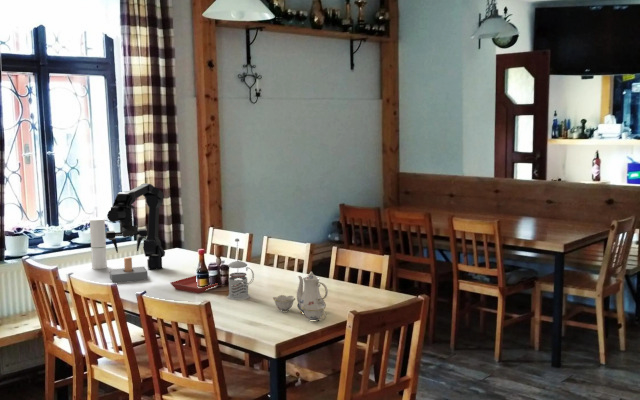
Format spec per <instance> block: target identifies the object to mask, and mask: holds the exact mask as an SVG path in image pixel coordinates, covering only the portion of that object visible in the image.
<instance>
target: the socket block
mask: <svg viewBox="0 0 640 400" xmlns="http://www.w3.org/2000/svg"><path fill="white" fill-rule="evenodd" d="M148 273H149V272H148V270H147V268H146V267H145V266H136V267H133V266H132V271H130V272H125V267H123V268H110V269H109V278H110V281H111V283H112V282H117V283H116V284H119V283H118V282H121V283H128V282H127V281H132V282H140V281H142V282H143V281H148V280H149V276H148Z"/></svg>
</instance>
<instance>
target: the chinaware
mask: <svg viewBox="0 0 640 400" xmlns="http://www.w3.org/2000/svg"><path fill="white" fill-rule="evenodd" d="M297 277H298V279H299V283H298V287H297V291H296V298H295V297H294V296H293V295H285V294H284V295H283V294H281V295H279V296H274V297H272V299H273V301H274V304H275V306H276V308H278V309H279V310H280V311H281V310H282V311H287V310H290V309H291V308H292V307H293V305H294V301H295V300H296V301H297V309H299V311H300V312H301V311H302V312H303V313H304V314H305V315H304V316H305V318H307V319H308V320H320V321H321V320H323V321H324V320H325V319H326V318H327V317H326V315H327V314H326V313H325V308H326V305H327V304H326V302H325V299H326V298H327V297H328V288H327V287H328V286H327V285H326V284H325V283H323V282H321V281H320V279H321V278H320V277H318V276H316V275H315V274H314V273H313V271H310V273H309V274H308V275H307V276H305V277H303V276H301V275H298V276H297ZM321 285H322V286H323V287H324V290H325V294H324V297H322V295H321V293H320V289H319V288H320V287H321ZM323 315H324V318H321V317H322V316H323Z"/></svg>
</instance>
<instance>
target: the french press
mask: <svg viewBox="0 0 640 400" xmlns="http://www.w3.org/2000/svg"><path fill="white" fill-rule="evenodd" d="M234 242H236V253H237V257H236V260H235V261H231V262H230V263H229V264H228V265H227V267H228V268H230V269H242V268H245V271H246V272H248V269H249V270H250V271H251V274H252V275H251V276H252V277H251V280H250V281H248V277H247V273H246V272H238V271H237V272H232V273H229V277H228V295H227V296H226V299H228V300H231V301H241V300H242V299H243V300H247V299H250V298H251V295H250V294H249V285H251V284H252V283H253V282H254V278H255V273H254V271H253V270H252V269H251V268H250V267H248V264H247V262H244V261H240V260H239V254H238V250H239V249H238V246H239V245H238V244H239V243H238V242H240V238H235V239H234Z"/></svg>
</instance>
